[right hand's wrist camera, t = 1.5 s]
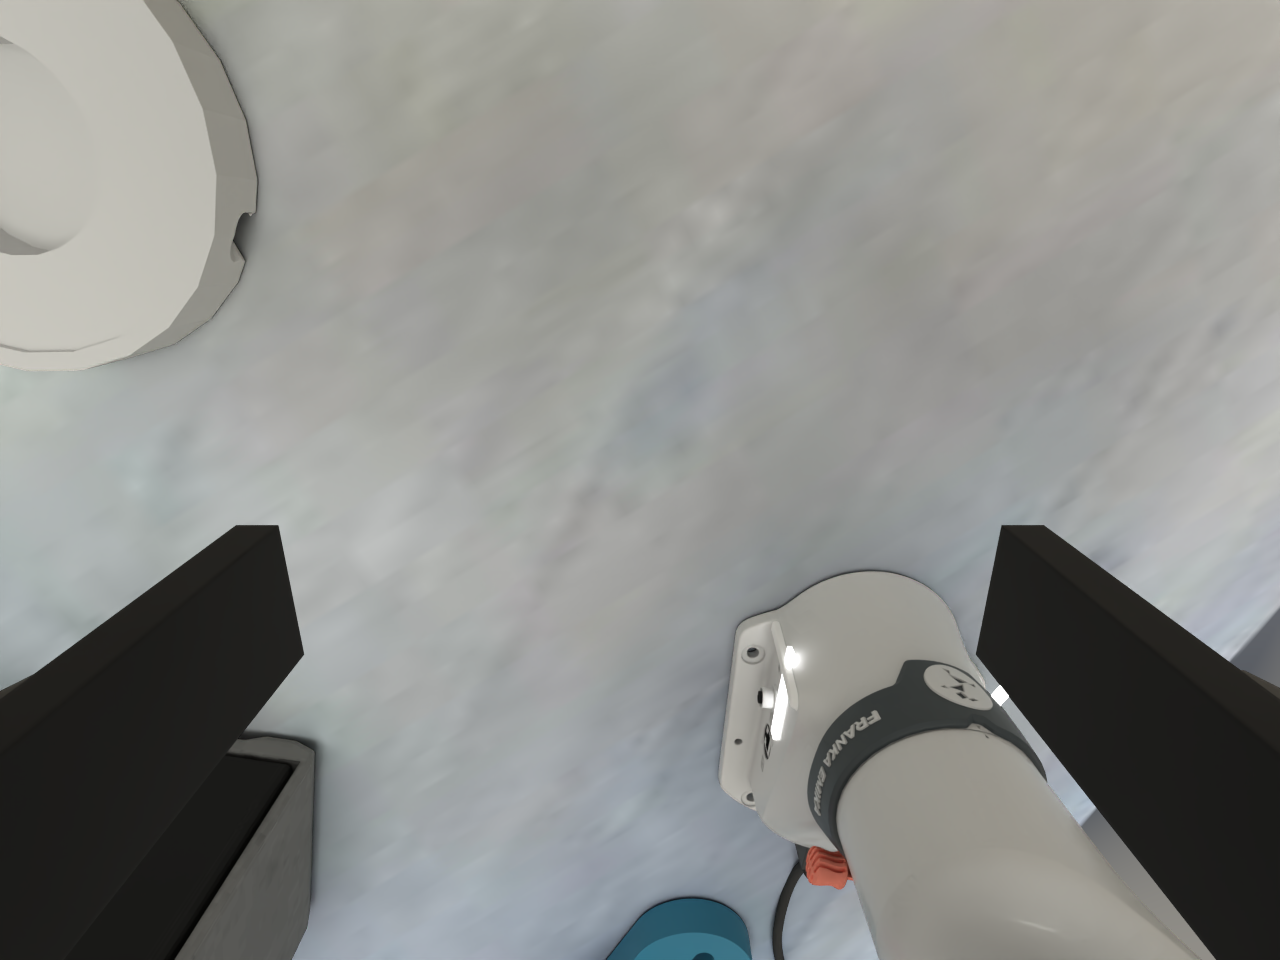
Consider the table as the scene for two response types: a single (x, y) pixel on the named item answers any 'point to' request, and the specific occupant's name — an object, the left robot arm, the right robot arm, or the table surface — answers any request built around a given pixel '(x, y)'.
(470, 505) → the table surface
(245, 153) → the ashtray
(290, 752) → the cooler box
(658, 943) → the camera mount
